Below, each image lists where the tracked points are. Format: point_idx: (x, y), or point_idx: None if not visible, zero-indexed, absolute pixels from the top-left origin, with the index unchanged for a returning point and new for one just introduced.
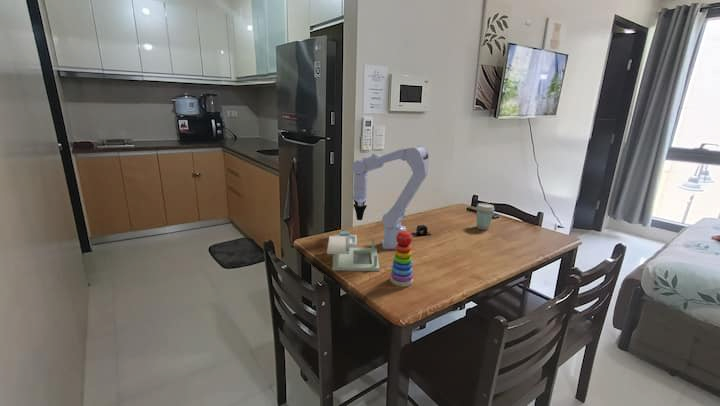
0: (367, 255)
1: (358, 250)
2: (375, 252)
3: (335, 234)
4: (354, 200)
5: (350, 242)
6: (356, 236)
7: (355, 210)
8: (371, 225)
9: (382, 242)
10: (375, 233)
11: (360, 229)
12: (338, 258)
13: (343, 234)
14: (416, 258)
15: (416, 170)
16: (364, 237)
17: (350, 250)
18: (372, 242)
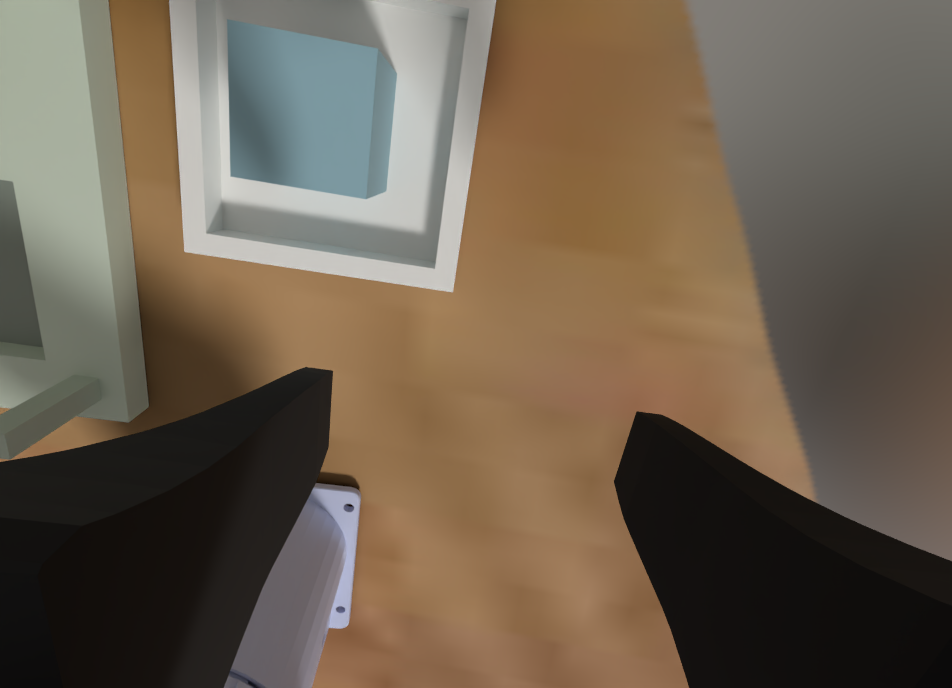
0: (8, 314)
1: (26, 240)
2: (13, 395)
3: (492, 3)
4: (938, 637)
5: (314, 193)
6: (403, 282)
7: (88, 446)
8: (776, 478)
9: (314, 491)
10: (565, 474)
11: (702, 362)
12: None
13: (241, 82)
14: None
15: None
16: (479, 364)
17: (2, 147)
18: (1, 418)
